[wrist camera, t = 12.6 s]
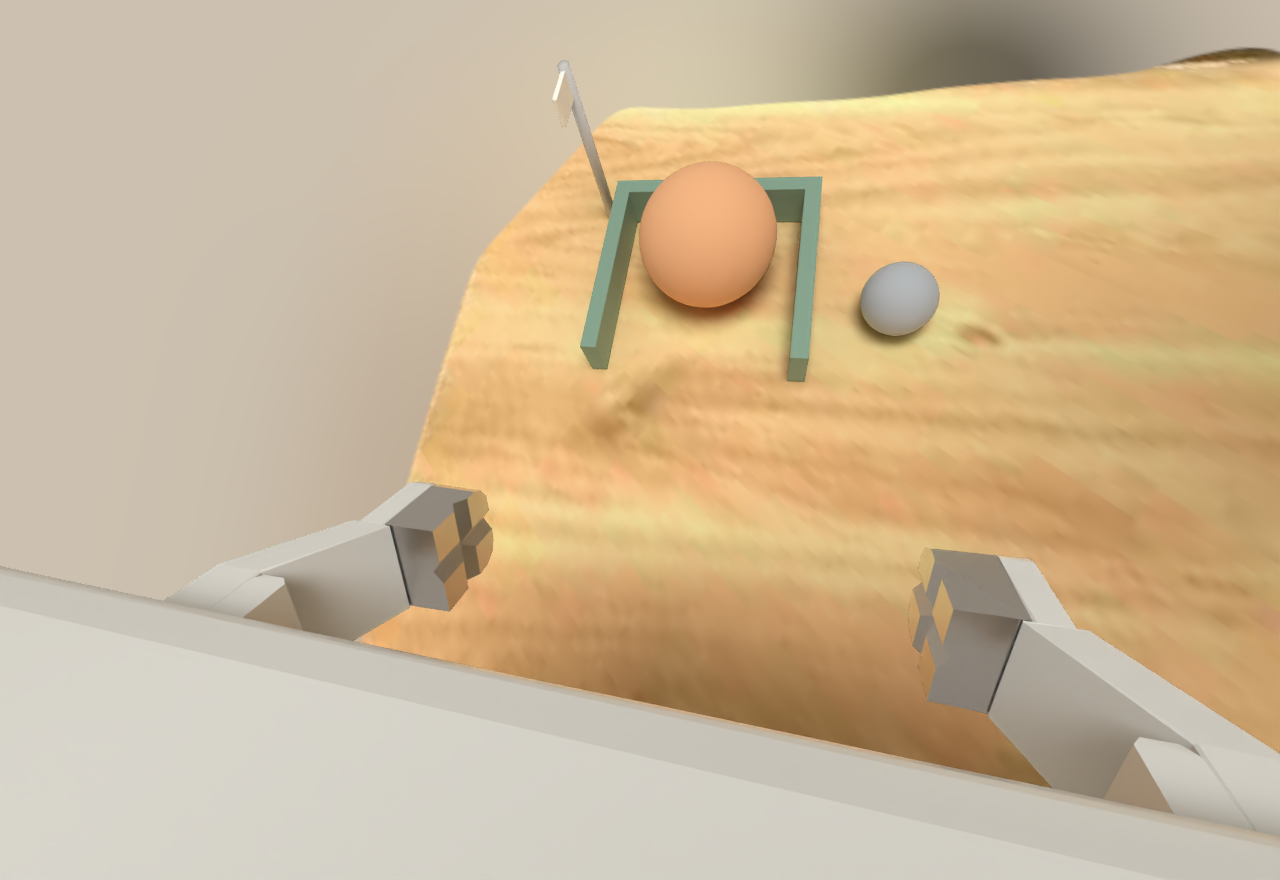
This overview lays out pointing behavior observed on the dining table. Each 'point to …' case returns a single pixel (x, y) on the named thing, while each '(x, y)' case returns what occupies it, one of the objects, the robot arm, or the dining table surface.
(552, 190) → the dining table surface
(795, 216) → the green u-shaped frame
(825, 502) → the dining table surface
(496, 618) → the dining table surface
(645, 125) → the dining table surface
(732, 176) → the ball
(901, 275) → the grey ball
